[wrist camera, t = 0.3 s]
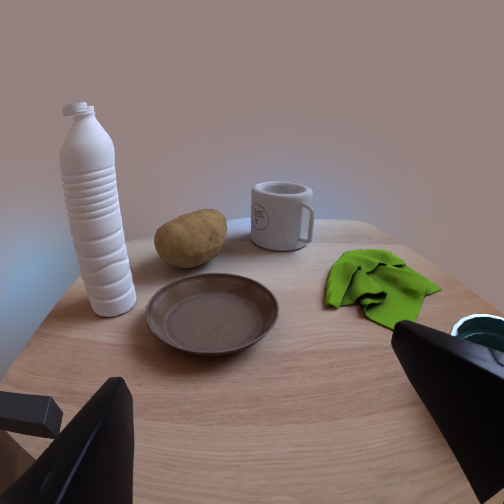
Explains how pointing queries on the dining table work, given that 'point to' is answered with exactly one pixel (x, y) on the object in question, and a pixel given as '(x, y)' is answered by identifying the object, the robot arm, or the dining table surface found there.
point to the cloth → (378, 286)
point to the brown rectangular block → (12, 460)
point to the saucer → (212, 313)
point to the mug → (281, 215)
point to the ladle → (30, 414)
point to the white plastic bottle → (96, 213)
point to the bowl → (481, 330)
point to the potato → (191, 238)
